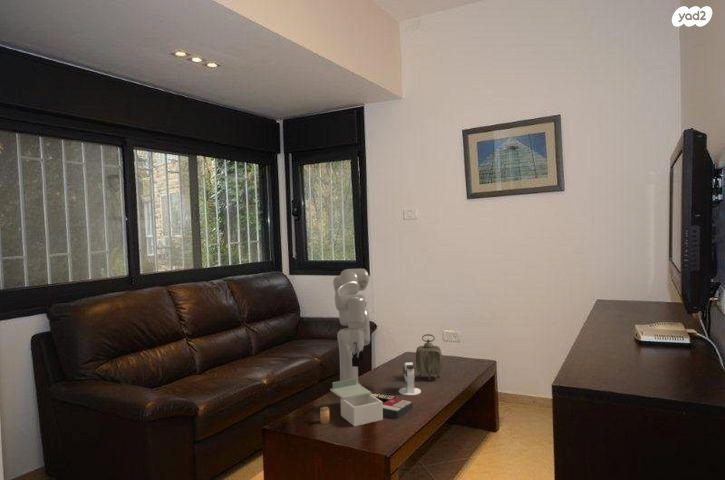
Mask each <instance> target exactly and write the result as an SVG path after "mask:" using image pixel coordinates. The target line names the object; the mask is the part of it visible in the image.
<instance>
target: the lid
mask: <svg viewBox="0 0 725 480" xmlns="http://www.w3.org/2000/svg"><path fill="white" fill-rule="evenodd" d="M329 390H330V392H332V393H334V394H335V395H336V396H337V397H338V398H339V399H340V398H341V399H348V398H353V397H358V396H363V395H368V394H371V395H372V391H370V390H368V389H367V388H365V387H364V386H362V384H361V385H359V384H356V379H355V378H354V379H348V380H343V381H340V380H338V381H334V382H332V388H330V389H329Z"/></svg>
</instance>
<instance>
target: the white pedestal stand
mask: <svg viewBox="0 0 725 480" xmlns="http://www.w3.org/2000/svg"><path fill="white" fill-rule="evenodd" d="M402 371H403V375H404V378H403V383H404V387H402V388H400V389H399V390H398V393H399V394H400V395H403V396H417V395H420V394H421V392H422V390H421V389H420V388H417V387H415V378H416V377H415V366H414V363H413V362H412V360H410V359H404V360H403V368H402Z"/></svg>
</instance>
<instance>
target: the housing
mask: <svg viewBox="0 0 725 480" xmlns="http://www.w3.org/2000/svg"><path fill="white" fill-rule="evenodd" d="M339 399H340V416H341V417H342V418H344V420H346V421H347V422H348V423H350V425H352V426H353V427H358V426H362V425H365V424H371V423H374V422H378V421H379V422H380V421H382V420H384V416H383V401H382V400H380V399H379V398H377V397H375V395H373V394H372V393H371V394H368V395H363V396H358V397H353V398H348V399H341V398H340V397H339Z"/></svg>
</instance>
